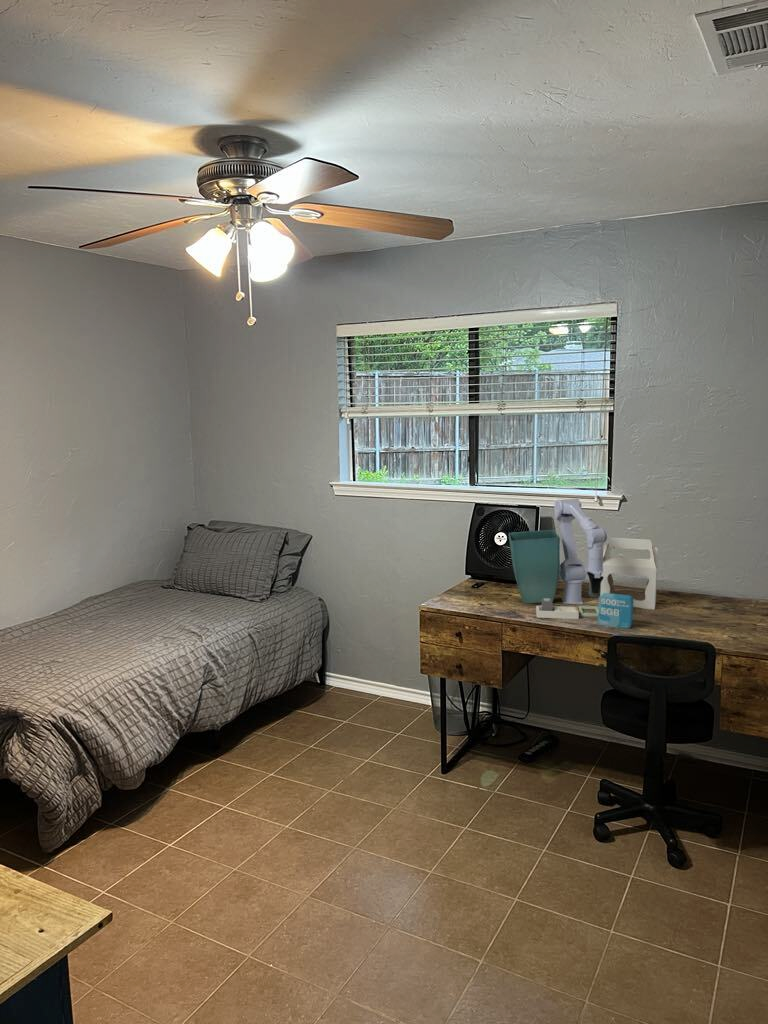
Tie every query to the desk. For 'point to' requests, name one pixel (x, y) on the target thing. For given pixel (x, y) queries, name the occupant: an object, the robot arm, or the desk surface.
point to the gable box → (631, 570)
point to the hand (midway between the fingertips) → (594, 591)
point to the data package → (615, 610)
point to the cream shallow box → (558, 612)
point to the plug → (592, 592)
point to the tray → (588, 608)
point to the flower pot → (535, 563)
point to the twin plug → (546, 604)
